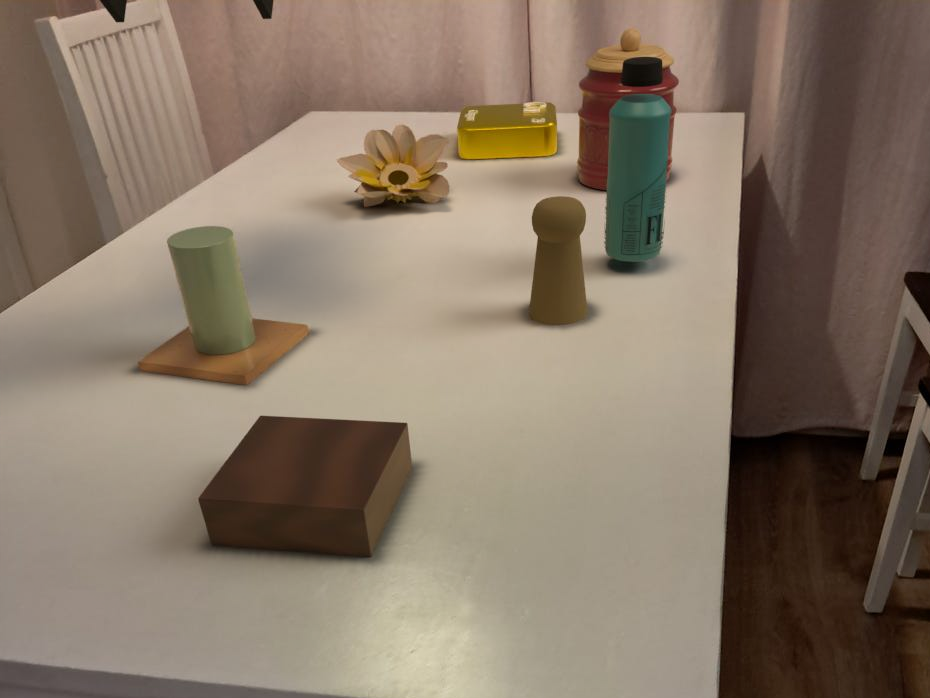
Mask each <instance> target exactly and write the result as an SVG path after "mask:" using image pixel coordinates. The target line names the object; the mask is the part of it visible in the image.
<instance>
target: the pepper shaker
mask: <svg viewBox="0 0 930 698" xmlns="http://www.w3.org/2000/svg"><path fill="white" fill-rule="evenodd" d="M586 223H587V211H586V208H585V206H584V204H583V203H582V201H581V200H579V199H577V198H575V197H571V196H566V195H565V196H563V195H560V196H559V195H558V196H549V197H546V198H543V199H541V200H540V201H538V202H537V203H536V204H535V206H534V208H533V210H532V214H531V226H532V230H533V232H534V233H535V235H536V236H537V239H536V248H535V249H536V250H535V258H534V267H533V275H532V284H531V292H530V300H529V308H528V316H529V318H530V319H531V320H532V321H534V322H536V323H539V324H542V325H548V326H566V325H572V324H575V323H578V322H580V321H582V320H584V319H585V318H586V317H587V316H588V304H587V303H588V302H587V293H586V283H585V275H584V273H585V271H584V263H583V254H582V244H581V243H582V242H581V235H582V233H583V232H584V231H585V228H586V227H585V226H586Z"/></svg>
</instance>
